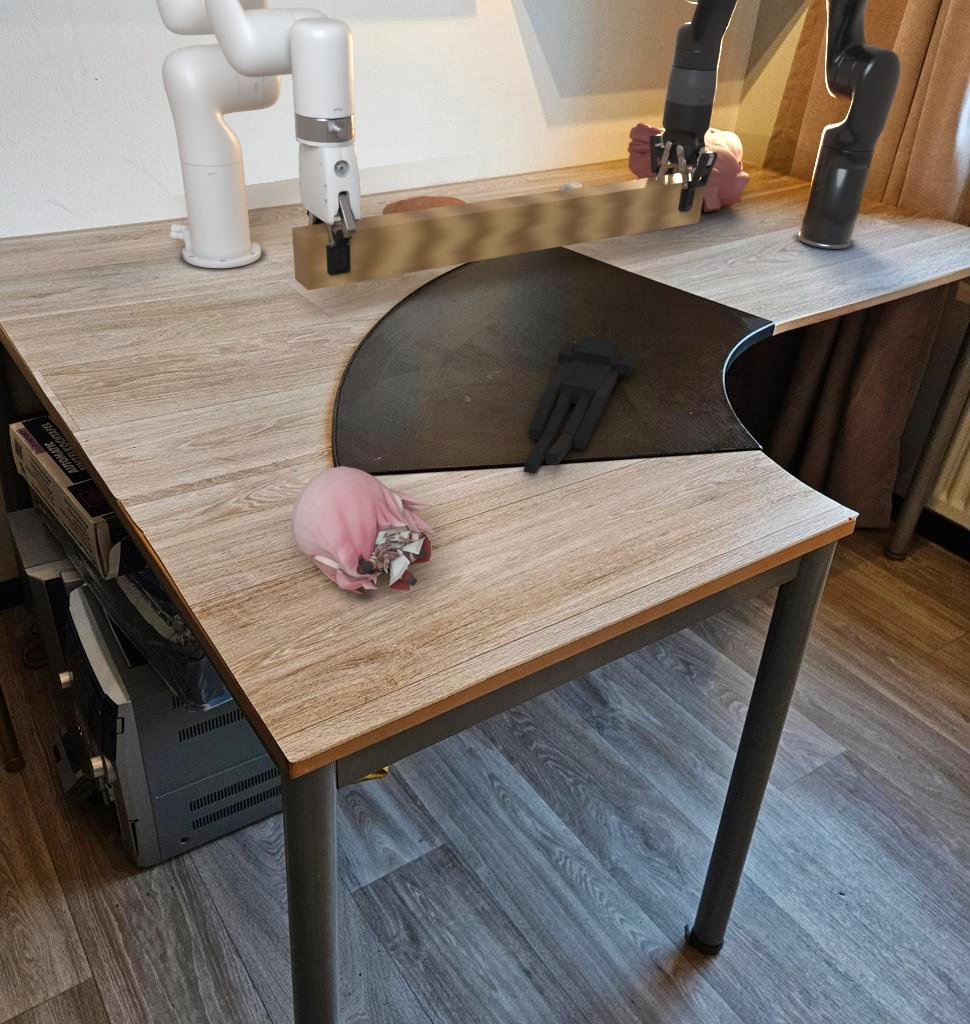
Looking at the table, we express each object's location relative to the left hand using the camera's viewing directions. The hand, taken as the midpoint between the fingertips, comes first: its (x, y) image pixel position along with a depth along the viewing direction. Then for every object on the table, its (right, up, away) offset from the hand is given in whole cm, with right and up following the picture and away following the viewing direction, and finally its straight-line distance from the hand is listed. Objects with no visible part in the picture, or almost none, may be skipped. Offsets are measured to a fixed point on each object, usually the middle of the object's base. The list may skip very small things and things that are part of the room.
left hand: (330, 265), depth 132 cm
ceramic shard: (+10, +18, +44) cm, 49 cm away
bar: (+26, +7, +15) cm, 31 cm away
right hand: (+53, +17, +28) cm, 62 cm away
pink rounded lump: (+11, -40, -42) cm, 59 cm away
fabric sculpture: (+64, +34, +72) cm, 102 cm away
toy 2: (+32, -23, -15) cm, 42 cm away
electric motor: (+37, +25, +56) cm, 72 cm away
